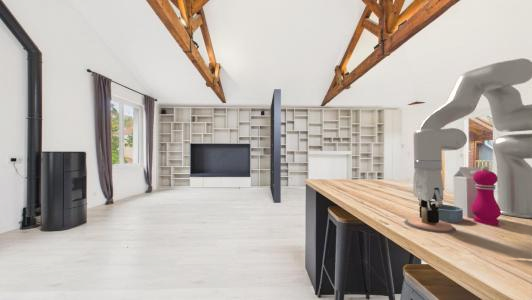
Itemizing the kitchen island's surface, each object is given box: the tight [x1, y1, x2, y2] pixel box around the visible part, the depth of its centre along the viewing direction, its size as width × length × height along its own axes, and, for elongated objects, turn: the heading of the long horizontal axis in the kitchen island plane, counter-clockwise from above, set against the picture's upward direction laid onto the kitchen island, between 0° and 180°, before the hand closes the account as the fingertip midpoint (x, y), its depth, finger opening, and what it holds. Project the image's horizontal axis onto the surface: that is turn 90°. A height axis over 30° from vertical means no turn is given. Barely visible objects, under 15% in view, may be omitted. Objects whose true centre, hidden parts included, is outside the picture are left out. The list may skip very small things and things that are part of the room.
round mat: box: [403, 219, 457, 234], centre depth 73 cm, size 14×14×1 cm
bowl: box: [431, 203, 464, 224], centre depth 81 cm, size 10×10×4 cm
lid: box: [407, 207, 454, 232], centre depth 73 cm, size 12×12×6 cm
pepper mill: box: [472, 165, 502, 227], centre depth 76 cm, size 7×7×20 cm
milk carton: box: [453, 166, 482, 219], centre depth 84 cm, size 7×7×19 cm
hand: (428, 219), depth 73 cm, fingers closed on lid, 4 cm apart
